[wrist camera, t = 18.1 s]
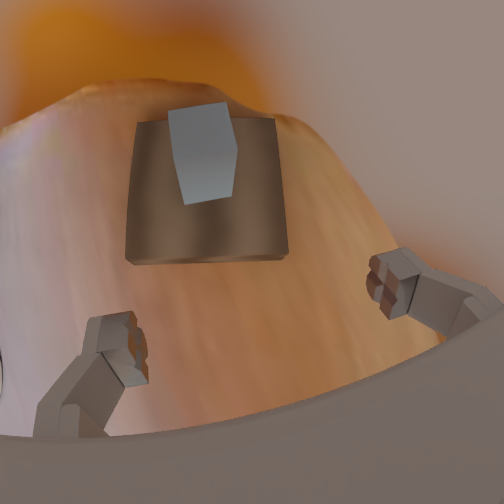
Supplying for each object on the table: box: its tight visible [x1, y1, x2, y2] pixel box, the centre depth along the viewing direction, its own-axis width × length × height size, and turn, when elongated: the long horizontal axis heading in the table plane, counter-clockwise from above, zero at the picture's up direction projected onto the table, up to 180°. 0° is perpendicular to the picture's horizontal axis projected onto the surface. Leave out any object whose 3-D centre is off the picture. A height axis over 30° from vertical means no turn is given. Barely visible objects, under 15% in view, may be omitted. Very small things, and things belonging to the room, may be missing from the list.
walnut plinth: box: [125, 118, 289, 265], centre depth 29 cm, size 14×14×3 cm
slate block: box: [168, 102, 238, 205], centre depth 23 cm, size 4×4×8 cm
